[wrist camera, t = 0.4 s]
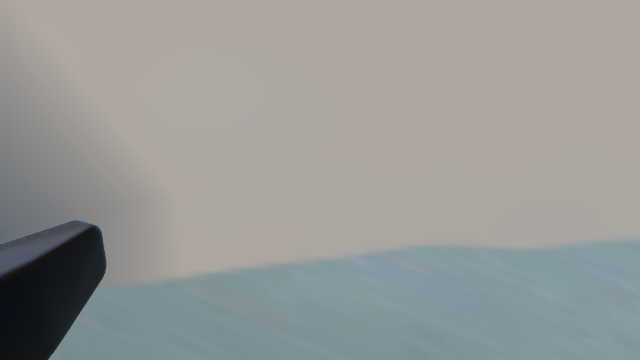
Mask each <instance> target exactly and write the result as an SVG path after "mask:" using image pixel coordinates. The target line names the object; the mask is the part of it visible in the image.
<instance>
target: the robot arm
mask: <svg viewBox="0 0 640 360" xmlns="http://www.w3.org/2000/svg"><path fill="white" fill-rule="evenodd" d="M105 270H106V258H105V251H104V245H103V238H102V232H101V230H100V229H99V227H98V226H96V225H93V224H90V223H86V222H83V221H77V220H76V221H71V222H68V223H65V224H62V225H59V226H56V227H53V228H50V229H47V230H44V231H41V232H38V233H35V234H32V235H28V236H25V237H22V238H20V239H16V240H13V241H10V242H7V243H4V244H1V245H0V360H48V359H49V358H50V356H51V355H52V354H53V352H54V351H55V350H56V348H57V347H58V345H59V344H60V342H61V341H62V340H63V338H64V337H65V335H66V334H67V332H68V330H69V329H70V327H71V326H72V324H73V323H74V321H75V320H76V318H77V317H78V315H79V314H80V312H81V310H82V309H83V307H84V306H85V304H86V303H87V301H88V300H89V298H90V297H91V295H92V294H93V292H94V291H95V289H96V287H97V286H98V284H99V283H100V281H101V280H102V278H103V276H104V274H105Z"/></svg>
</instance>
